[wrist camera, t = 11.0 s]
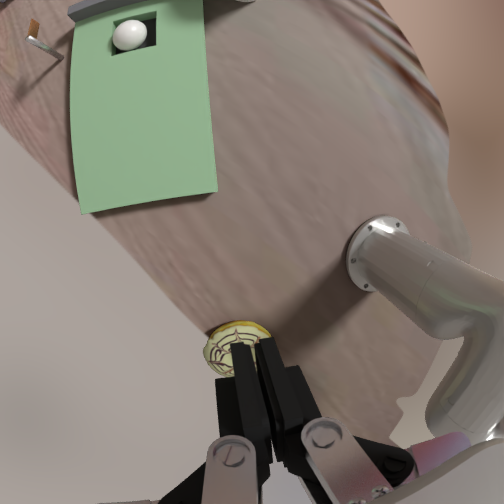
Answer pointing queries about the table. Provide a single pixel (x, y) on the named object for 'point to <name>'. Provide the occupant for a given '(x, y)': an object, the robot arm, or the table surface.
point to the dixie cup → (245, 0)
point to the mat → (140, 104)
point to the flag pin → (33, 40)
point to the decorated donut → (231, 332)
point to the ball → (129, 35)
